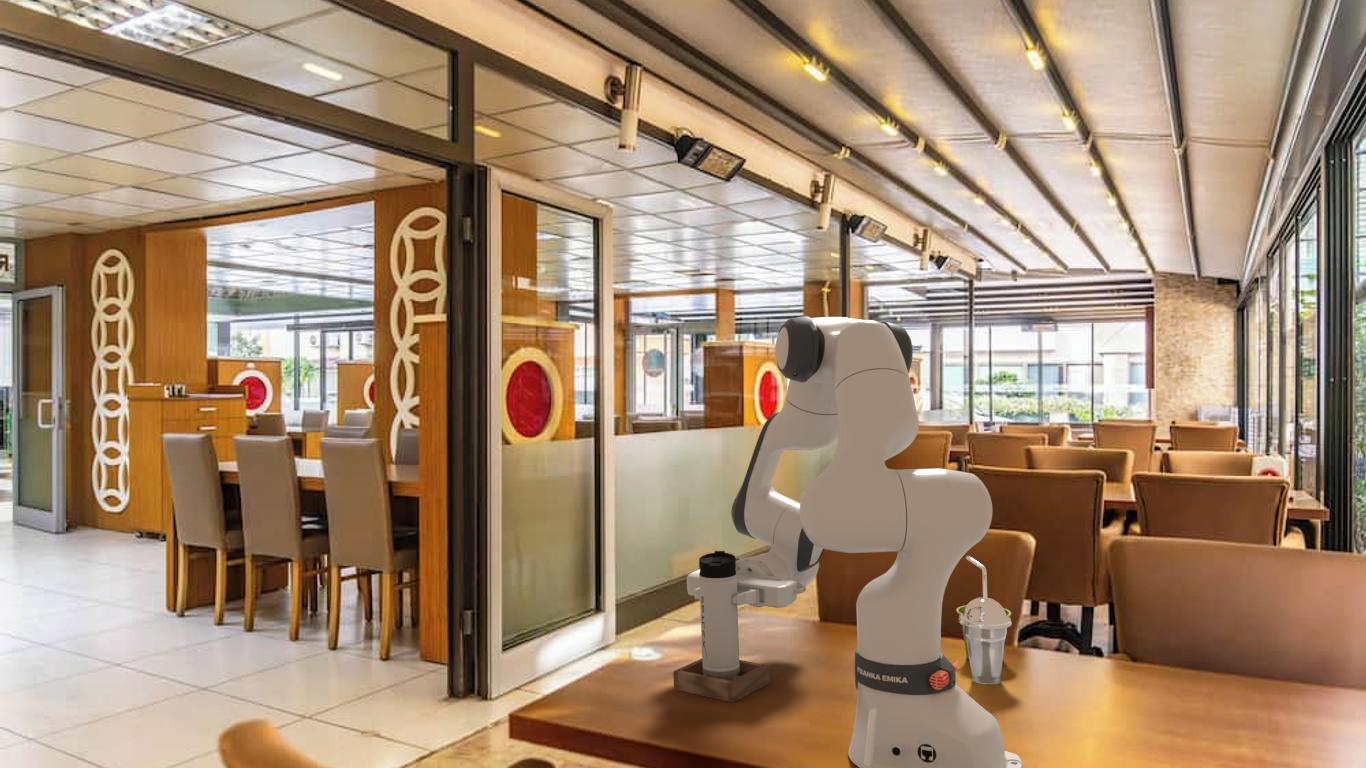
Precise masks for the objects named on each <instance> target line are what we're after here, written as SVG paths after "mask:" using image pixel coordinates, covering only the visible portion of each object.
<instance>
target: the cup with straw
mask: <svg viewBox="0 0 1366 768" xmlns="http://www.w3.org/2000/svg"><path fill="white" fill-rule="evenodd" d="M965 560H967V561H969V562H970V563H971V564H973V565H975V566H976V567H978V568H979V569H980V570H981V572H982V575H981V576H982V597H980V596H979V597H976V598H974V599H972V600H970V601H969V602H968V603H967V604H966V605H967V606H966V607H965V610H964V613H963V614H961V615H960V616H959V615H958V623H959V624H960V625H961V626H962V625H963V626H964V632H965V637H966V638H967V645H968V653H969V659H968V660H969V667H970V672H971V675H972V679H971V680H972V681H973V682H974V683H977V684H980V685H997V684H1000V683H1001V676H1002V673H1003V671H1002V670H1003V669H1002V668H1003V658H1004V650H1005V649H1004V647H1005V641H1006V636H1007V633H1008V630H1007V629H1008V628H1010V627H1011V626H1012V625H1013V624H1012V623H1013V622H1012V619H1011V616H1010V617H1008V616H1006V613H1005V610H1004V609H1003V608H1004V607H1003V606H1002V605H1001V604H1000V602H998V601H996V599H993V598H991V597H988V577H987V576H988V575H987V574H988V573H987V568H986V565H983V564H982V563H980V562H979V561H977V560H976V559H975V558H973V557H971V556H970V555H966V557H965Z"/></svg>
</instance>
